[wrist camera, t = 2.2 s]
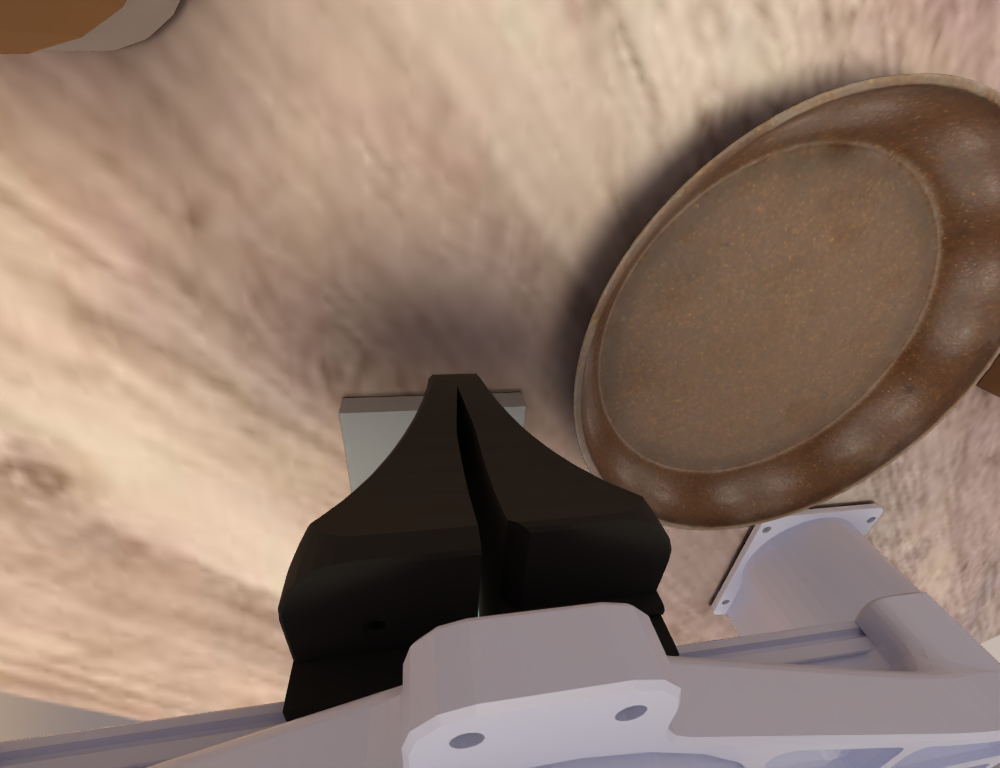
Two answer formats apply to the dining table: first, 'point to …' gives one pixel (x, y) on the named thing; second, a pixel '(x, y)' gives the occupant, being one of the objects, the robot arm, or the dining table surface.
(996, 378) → the stop block
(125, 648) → the dining table surface
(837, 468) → the plant saucer
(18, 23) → the coffee cup
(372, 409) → the socket block
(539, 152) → the dining table surface
